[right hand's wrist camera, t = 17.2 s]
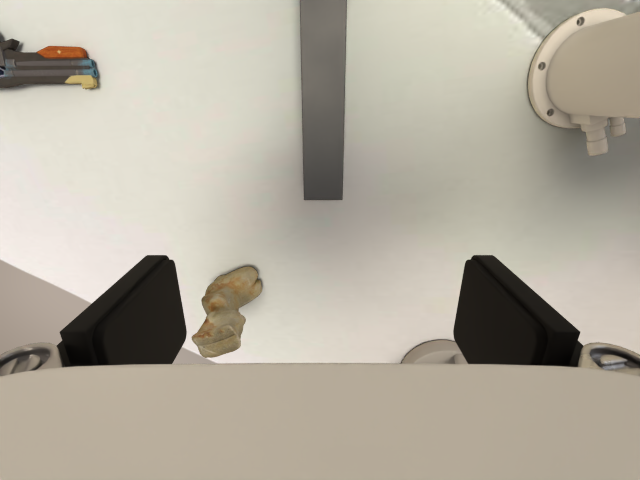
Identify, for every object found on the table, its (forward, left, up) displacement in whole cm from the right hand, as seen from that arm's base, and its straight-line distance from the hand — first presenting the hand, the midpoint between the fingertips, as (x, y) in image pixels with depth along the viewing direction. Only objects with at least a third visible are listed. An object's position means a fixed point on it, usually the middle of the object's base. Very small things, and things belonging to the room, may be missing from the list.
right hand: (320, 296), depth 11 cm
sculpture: (-12, +19, -36) cm, 42 cm away
